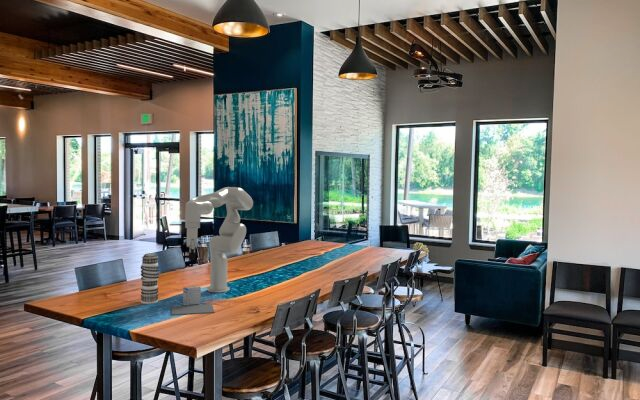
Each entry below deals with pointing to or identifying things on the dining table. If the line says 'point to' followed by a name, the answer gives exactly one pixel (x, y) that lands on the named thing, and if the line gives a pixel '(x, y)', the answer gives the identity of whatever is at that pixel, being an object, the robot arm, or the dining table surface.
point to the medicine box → (191, 295)
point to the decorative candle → (149, 278)
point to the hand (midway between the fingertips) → (192, 259)
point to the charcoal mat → (192, 309)
